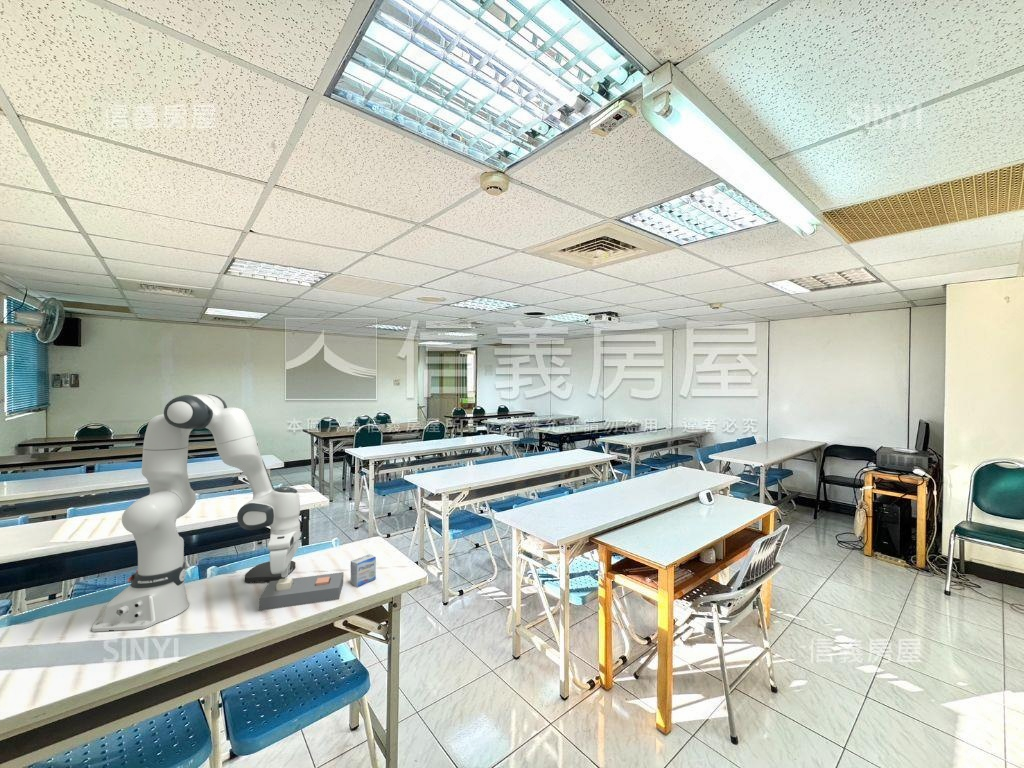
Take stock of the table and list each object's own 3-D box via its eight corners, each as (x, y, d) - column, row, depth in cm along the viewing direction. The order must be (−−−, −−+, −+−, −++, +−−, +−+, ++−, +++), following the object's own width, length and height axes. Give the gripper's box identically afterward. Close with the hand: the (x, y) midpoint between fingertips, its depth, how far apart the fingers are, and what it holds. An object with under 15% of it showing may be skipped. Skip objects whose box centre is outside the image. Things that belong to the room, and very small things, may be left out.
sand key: (276, 593, 132) (276, 584, 132) (279, 587, 136) (279, 579, 136) (289, 591, 133) (289, 582, 133) (292, 586, 137) (292, 577, 137)
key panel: (258, 610, 127) (258, 598, 127) (270, 592, 139) (270, 581, 139) (338, 599, 134) (339, 587, 134) (343, 583, 146) (343, 572, 146)
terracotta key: (315, 592, 136) (315, 583, 136) (317, 586, 139) (317, 578, 140) (328, 590, 137) (328, 581, 137) (329, 584, 141) (330, 576, 141)
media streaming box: (261, 567, 160) (261, 560, 160) (299, 566, 161) (299, 558, 161) (239, 585, 145) (239, 576, 145) (280, 583, 146) (280, 575, 146)
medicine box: (356, 587, 142) (357, 563, 142) (350, 584, 145) (350, 560, 145) (376, 579, 148) (376, 556, 149) (369, 576, 151) (369, 553, 151)
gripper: (283, 526, 144) (283, 564, 144) (265, 547, 125) (265, 591, 124) (302, 524, 146) (302, 561, 146) (288, 544, 126) (288, 587, 126)
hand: (285, 575), depth 135 cm, fingers closed
